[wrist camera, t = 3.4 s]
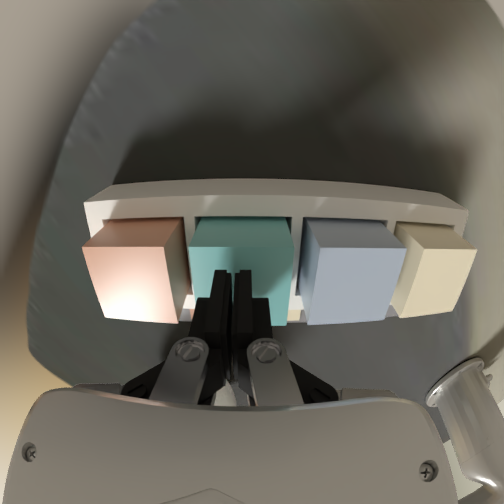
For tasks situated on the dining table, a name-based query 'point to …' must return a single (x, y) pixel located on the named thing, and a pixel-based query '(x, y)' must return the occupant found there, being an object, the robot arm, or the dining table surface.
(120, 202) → the keypad
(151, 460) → the robot arm
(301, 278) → the key
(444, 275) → the key
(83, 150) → the dining table surface
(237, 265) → the key
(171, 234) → the key
